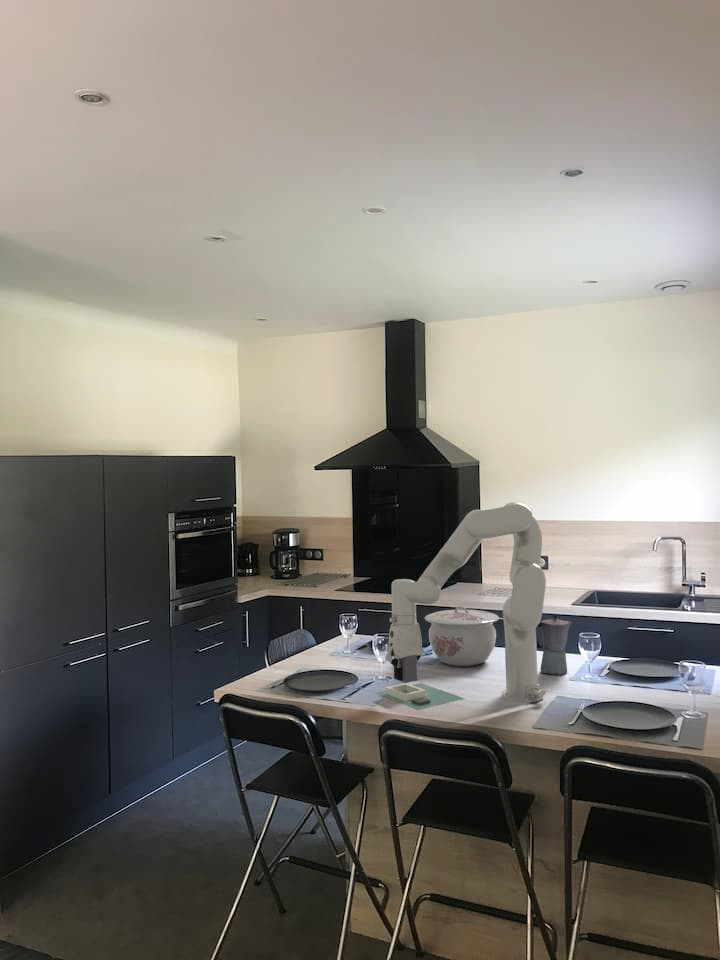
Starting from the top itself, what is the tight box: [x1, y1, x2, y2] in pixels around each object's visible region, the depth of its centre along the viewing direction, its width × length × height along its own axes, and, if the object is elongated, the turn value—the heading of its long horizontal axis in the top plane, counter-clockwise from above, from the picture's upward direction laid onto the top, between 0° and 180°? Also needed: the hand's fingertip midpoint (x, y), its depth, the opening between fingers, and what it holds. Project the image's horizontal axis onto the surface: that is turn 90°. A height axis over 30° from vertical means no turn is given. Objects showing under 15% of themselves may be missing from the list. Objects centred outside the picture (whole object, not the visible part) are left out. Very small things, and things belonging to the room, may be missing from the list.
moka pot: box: [536, 613, 572, 675], centre depth 260 cm, size 10×15×20 cm, turn 112°
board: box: [375, 682, 466, 711], centre depth 233 cm, size 22×18×3 cm
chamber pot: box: [424, 605, 500, 668], centre depth 278 cm, size 28×28×21 cm
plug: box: [392, 655, 418, 684], centre depth 234 cm, size 7×4×8 cm, turn 33°
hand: (405, 677), depth 234 cm, fingers closed on plug, 4 cm apart
